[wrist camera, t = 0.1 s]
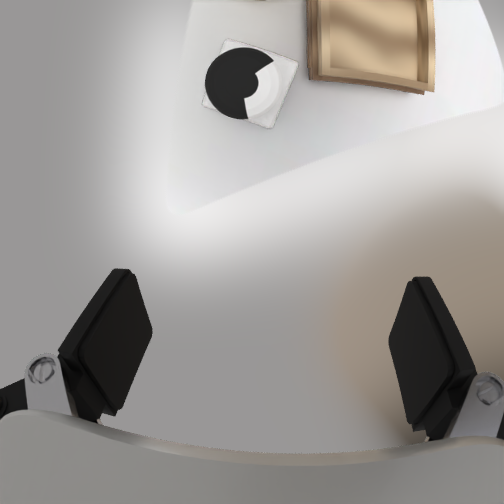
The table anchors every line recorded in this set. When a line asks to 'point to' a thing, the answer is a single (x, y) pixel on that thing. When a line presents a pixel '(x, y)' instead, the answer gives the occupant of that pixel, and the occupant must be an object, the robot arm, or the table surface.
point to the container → (248, 83)
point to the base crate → (313, 56)
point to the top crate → (378, 41)
